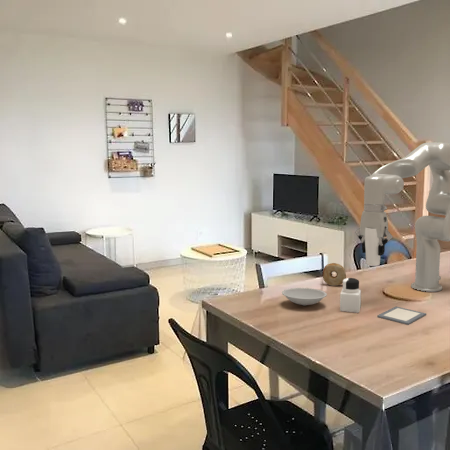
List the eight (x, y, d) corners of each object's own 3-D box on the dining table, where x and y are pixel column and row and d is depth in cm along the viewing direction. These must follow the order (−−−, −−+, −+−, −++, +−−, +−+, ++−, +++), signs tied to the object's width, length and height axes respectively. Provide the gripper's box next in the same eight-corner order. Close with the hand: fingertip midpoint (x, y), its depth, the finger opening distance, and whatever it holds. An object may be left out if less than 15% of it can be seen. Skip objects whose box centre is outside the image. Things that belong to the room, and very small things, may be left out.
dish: (328, 301, 208) (329, 289, 207) (324, 313, 194) (324, 300, 194) (286, 298, 213) (286, 286, 213) (278, 309, 200) (278, 296, 199)
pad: (395, 307, 198) (395, 306, 198) (426, 314, 190) (426, 313, 190) (377, 317, 189) (377, 315, 189) (408, 324, 180) (408, 323, 180)
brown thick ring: (321, 285, 230) (321, 263, 229) (323, 283, 234) (323, 261, 232) (344, 287, 227) (345, 265, 225) (346, 285, 230) (346, 263, 228)
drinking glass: (382, 267, 198) (383, 229, 196) (364, 266, 200) (365, 228, 197) (380, 262, 205) (382, 225, 202) (363, 262, 206) (364, 225, 204)
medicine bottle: (360, 307, 200) (361, 277, 198) (359, 313, 194) (359, 282, 192) (341, 305, 203) (342, 276, 201) (339, 311, 196) (340, 280, 194)
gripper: (399, 208, 195) (398, 255, 198) (359, 205, 207) (358, 249, 210) (389, 211, 190) (388, 258, 193) (349, 207, 202) (348, 252, 205)
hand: (373, 253), depth 202 cm, fingers closed on drinking glass, 6 cm apart
